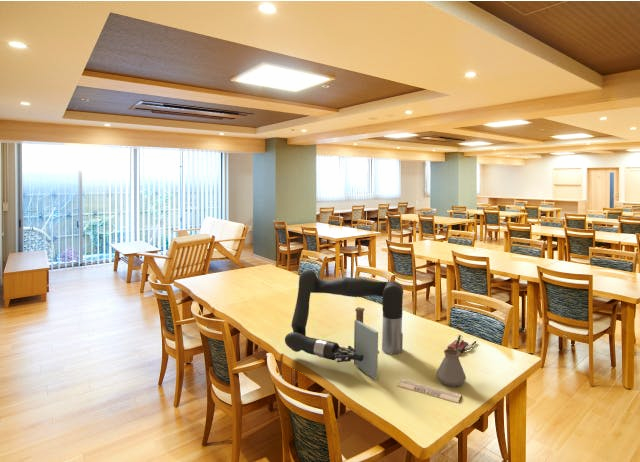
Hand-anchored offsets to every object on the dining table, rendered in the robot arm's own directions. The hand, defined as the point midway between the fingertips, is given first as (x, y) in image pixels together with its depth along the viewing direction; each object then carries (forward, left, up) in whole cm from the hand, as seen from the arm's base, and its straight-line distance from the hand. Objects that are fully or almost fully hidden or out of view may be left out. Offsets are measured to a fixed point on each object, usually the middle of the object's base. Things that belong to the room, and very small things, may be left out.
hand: (362, 358), depth 164 cm
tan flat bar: (-24, +12, -9) cm, 29 cm away
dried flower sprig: (-53, -27, -9) cm, 60 cm away
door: (-2, -4, -7) cm, 9 cm away
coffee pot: (-38, +1, -8) cm, 39 cm away
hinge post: (0, -13, -8) cm, 15 cm away
